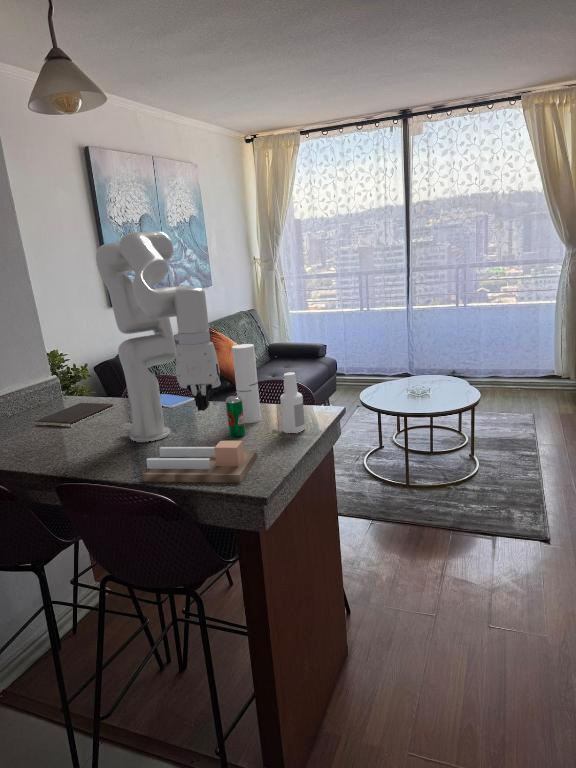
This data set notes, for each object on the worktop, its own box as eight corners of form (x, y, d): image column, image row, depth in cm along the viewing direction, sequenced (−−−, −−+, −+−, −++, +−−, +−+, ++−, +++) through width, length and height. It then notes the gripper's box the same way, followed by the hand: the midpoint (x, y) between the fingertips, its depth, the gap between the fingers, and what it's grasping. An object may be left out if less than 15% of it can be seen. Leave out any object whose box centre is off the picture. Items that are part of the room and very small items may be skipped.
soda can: (243, 438, 166) (239, 400, 163) (227, 438, 167) (222, 400, 164) (247, 432, 171) (243, 395, 168) (232, 432, 172) (227, 395, 169)
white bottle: (307, 432, 166) (302, 374, 162) (284, 435, 166) (279, 377, 161) (302, 425, 173) (298, 370, 169) (281, 428, 172) (276, 372, 168)
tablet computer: (138, 404, 217) (138, 400, 217) (163, 395, 227) (163, 392, 226) (171, 409, 205) (170, 406, 205) (195, 400, 215) (195, 397, 215)
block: (216, 466, 141) (214, 447, 140) (222, 458, 146) (220, 440, 144) (238, 466, 140) (236, 447, 138) (244, 458, 144) (242, 440, 143)
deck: (142, 481, 140) (141, 474, 140) (168, 457, 155) (167, 450, 155) (240, 482, 135) (239, 475, 134) (257, 457, 150) (256, 450, 149)
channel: (147, 468, 143) (146, 459, 142) (162, 455, 152) (160, 447, 151) (209, 469, 139) (208, 459, 139) (220, 455, 148) (219, 446, 147)
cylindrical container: (265, 419, 182) (258, 345, 176) (246, 424, 179) (238, 349, 172) (254, 415, 188) (246, 343, 182) (235, 420, 184) (227, 346, 178)
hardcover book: (36, 426, 198) (35, 420, 197) (81, 408, 218) (80, 402, 218) (71, 428, 192) (70, 422, 191) (114, 409, 212) (113, 403, 212)
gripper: (160, 342, 134) (169, 414, 139) (218, 340, 131) (226, 413, 136) (172, 336, 141) (181, 405, 146) (228, 334, 138) (235, 404, 143)
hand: (202, 409), depth 141 cm, fingers closed
